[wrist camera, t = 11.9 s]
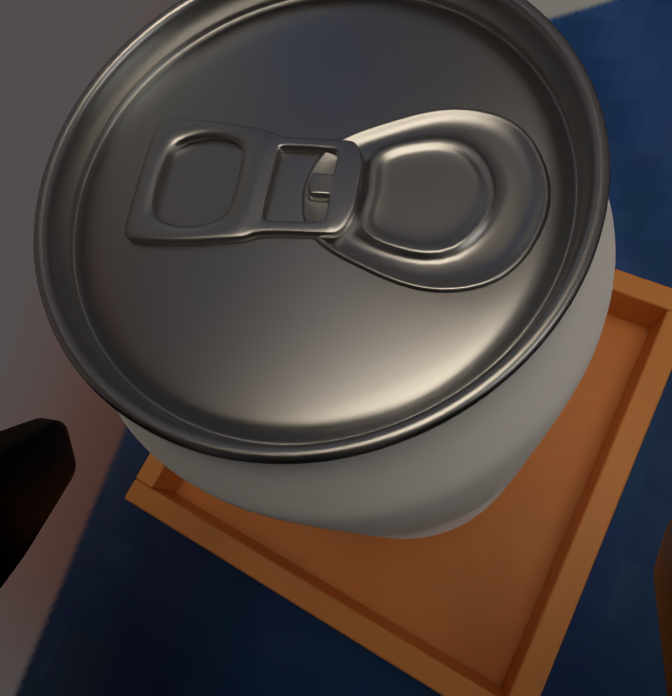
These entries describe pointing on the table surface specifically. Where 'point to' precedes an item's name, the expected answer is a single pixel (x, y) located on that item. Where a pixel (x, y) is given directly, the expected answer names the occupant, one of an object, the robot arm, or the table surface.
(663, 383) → the tray
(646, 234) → the table surface
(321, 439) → the can
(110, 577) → the table surface
